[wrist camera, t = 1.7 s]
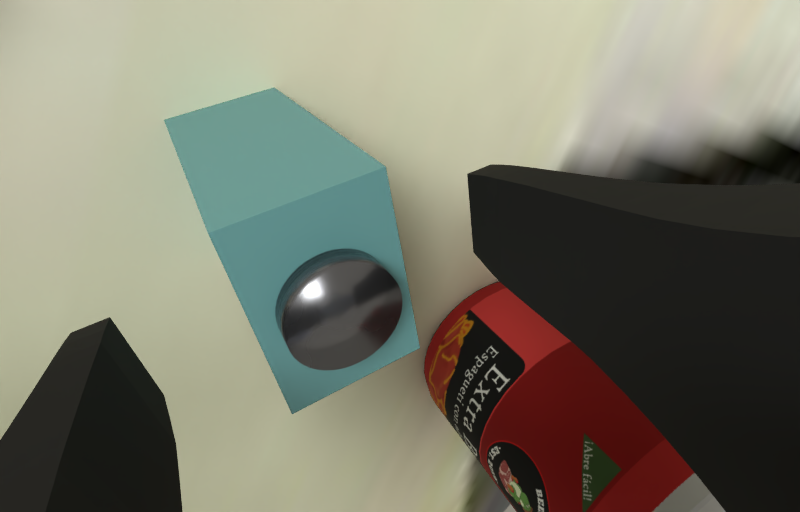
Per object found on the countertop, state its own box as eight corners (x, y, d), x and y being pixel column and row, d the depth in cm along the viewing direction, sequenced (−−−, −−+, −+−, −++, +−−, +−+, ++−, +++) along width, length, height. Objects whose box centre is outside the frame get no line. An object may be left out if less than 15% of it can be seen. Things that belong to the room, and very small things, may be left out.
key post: (314, 220, 16) (434, 364, 10) (225, 255, 15) (301, 436, 9) (273, 87, 13) (402, 178, 8) (164, 120, 12) (215, 250, 7)
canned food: (422, 297, 20) (650, 534, 12) (564, 256, 23) (821, 417, 15) (413, 424, 24) (580, 670, 15) (537, 373, 27) (728, 553, 19)
